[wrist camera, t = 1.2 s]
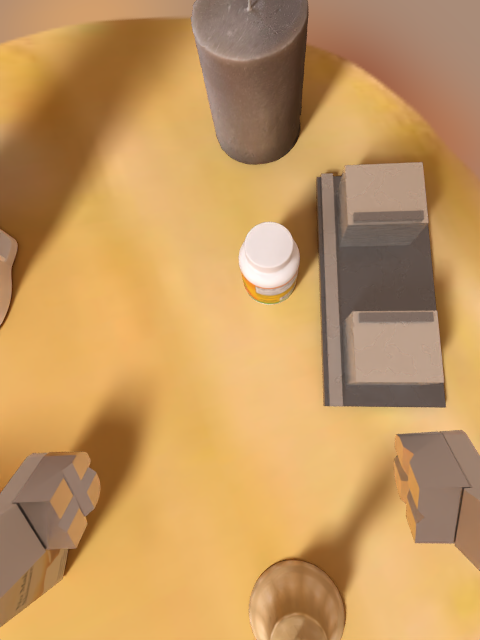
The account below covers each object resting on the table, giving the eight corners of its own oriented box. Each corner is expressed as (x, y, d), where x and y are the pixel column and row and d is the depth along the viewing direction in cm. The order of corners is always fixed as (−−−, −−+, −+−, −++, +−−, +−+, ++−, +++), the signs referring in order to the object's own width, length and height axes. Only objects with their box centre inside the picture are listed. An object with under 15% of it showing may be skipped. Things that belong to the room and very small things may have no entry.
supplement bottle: (244, 256, 41) (236, 213, 32) (295, 256, 41) (302, 212, 32) (243, 305, 40) (234, 276, 31) (295, 306, 40) (302, 276, 30)
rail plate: (442, 407, 37) (475, 408, 31) (323, 405, 38) (333, 406, 32) (420, 177, 42) (445, 139, 36) (316, 181, 43) (323, 144, 37)
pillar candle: (317, 128, 44) (338, -11, 29) (253, 182, 43) (241, 67, 29) (260, 78, 46) (253, -75, 32) (197, 128, 45) (161, -4, 31)
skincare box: (64, 579, 36) (-38, 665, 24) (21, 573, 37) (-101, 655, 25) (76, 505, 38) (-16, 552, 26) (33, 500, 38) (-76, 545, 26)
